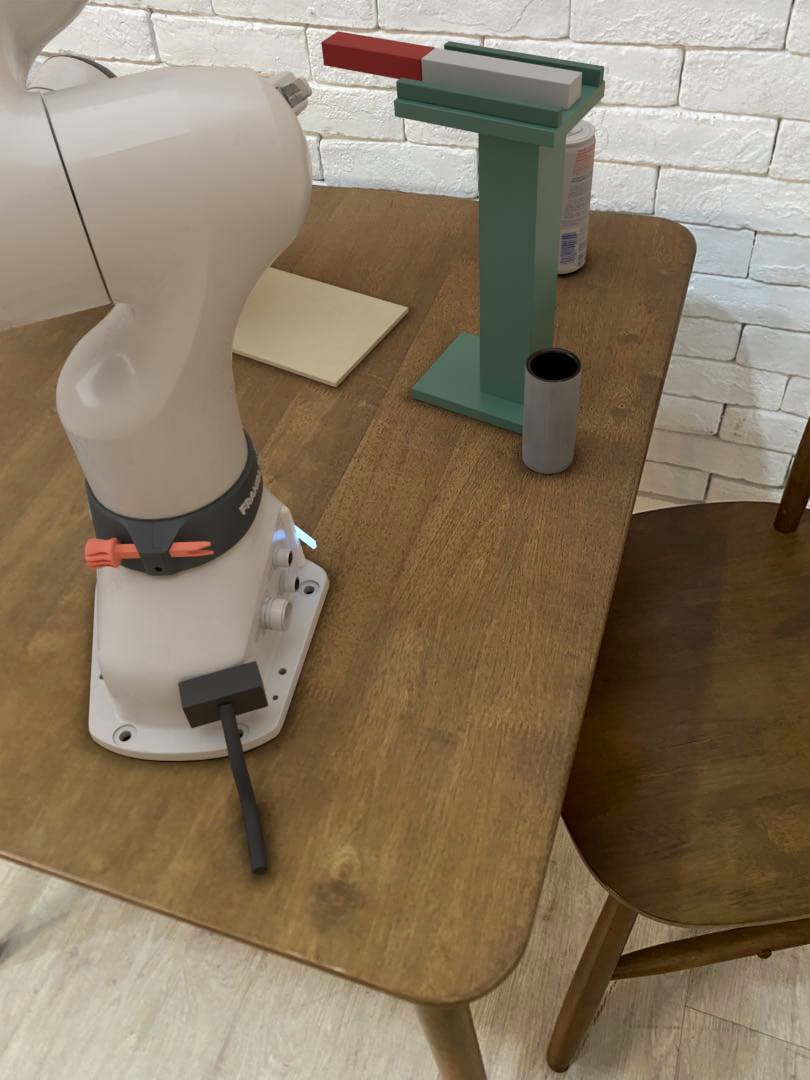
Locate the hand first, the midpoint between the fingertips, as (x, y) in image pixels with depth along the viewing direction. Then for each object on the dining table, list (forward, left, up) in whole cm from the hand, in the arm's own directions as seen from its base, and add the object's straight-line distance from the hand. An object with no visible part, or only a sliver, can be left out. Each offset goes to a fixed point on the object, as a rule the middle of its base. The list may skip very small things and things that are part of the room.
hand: (273, 108), depth 81 cm
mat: (+2, +4, -23) cm, 23 cm away
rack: (-11, -19, -23) cm, 32 cm away
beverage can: (+10, -27, -23) cm, 37 cm away
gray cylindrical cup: (-21, -23, -23) cm, 39 cm away
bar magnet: (-9, -15, +5) cm, 18 cm away
